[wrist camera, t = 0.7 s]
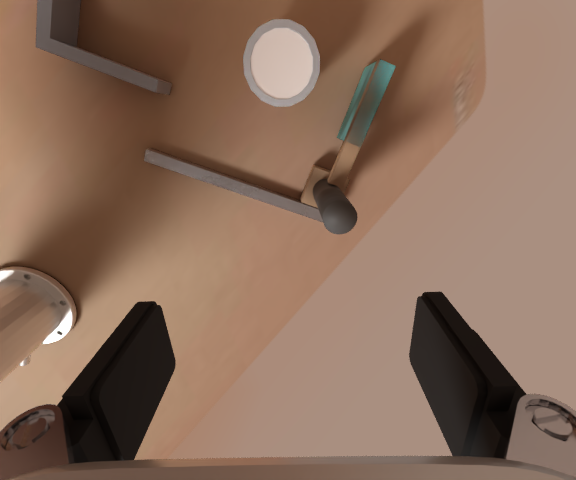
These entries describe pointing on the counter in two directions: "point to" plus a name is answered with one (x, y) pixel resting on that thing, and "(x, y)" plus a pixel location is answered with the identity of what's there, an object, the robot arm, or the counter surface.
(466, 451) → the robot arm
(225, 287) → the counter surface
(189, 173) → the rail
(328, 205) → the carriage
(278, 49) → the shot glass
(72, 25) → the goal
